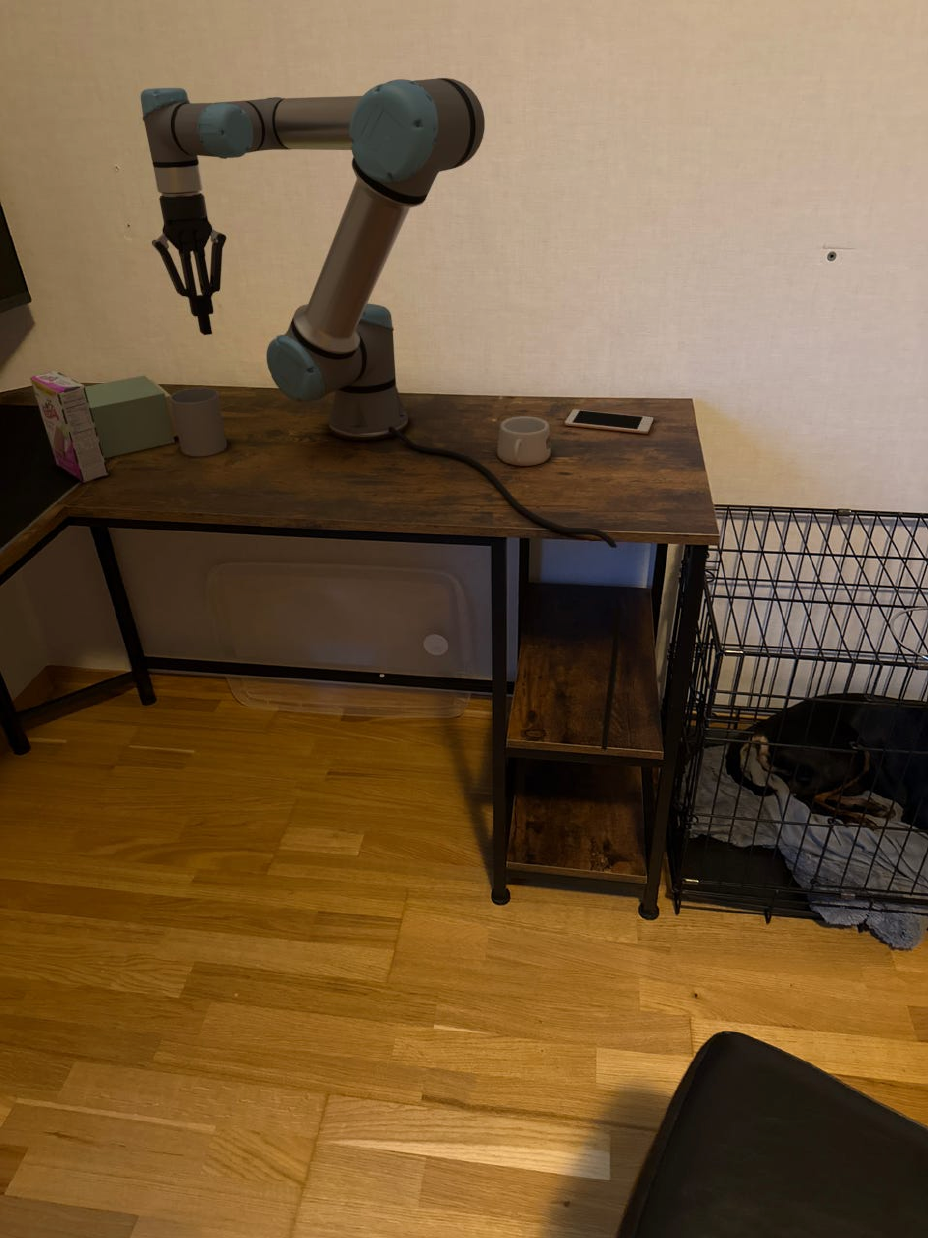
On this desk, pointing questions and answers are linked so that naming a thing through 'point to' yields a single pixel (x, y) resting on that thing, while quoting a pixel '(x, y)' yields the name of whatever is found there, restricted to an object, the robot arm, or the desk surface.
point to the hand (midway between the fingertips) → (206, 332)
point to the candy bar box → (69, 425)
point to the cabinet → (129, 415)
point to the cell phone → (609, 421)
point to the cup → (199, 421)
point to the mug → (524, 441)
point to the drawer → (169, 409)
